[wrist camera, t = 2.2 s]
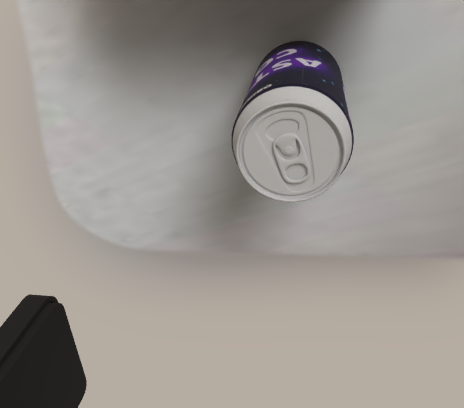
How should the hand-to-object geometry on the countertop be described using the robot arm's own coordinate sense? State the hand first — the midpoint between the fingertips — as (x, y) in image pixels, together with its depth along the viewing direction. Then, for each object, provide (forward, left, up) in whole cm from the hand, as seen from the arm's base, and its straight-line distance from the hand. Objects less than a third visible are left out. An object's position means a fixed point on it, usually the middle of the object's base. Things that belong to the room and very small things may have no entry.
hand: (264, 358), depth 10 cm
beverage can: (0, 0, -24) cm, 24 cm away
